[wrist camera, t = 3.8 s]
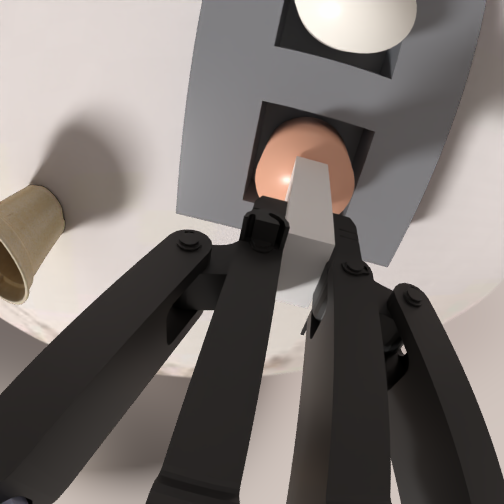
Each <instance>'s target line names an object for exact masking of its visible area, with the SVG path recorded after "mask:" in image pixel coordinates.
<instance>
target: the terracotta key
mask: <svg viewBox="0 0 504 504" xmlns="http://www.w3.org/2000/svg"><path fill="white" fill-rule="evenodd" d="M296 156H299V157H303V158H306V159H310V160H314V161H317V162H321V163H325V164H328V170H329V180H330V190H331V200H332V211H333V213H335V214H340V213H341V212H342V211H343V210H344V209H345V208H346V206H347V205H348V203H349V202H350V199H351V197H352V194H353V191H354V172H353V169H352V166H351V162H350V159H349V156H348V152H347V149H346V146H345V143H344V140H343V138H342V137H341V135H340V134H339V132H338V131H337V130H336V129H335V128H334V127H333V126H331V125H330V124H328V123H327V122H325V121H323V120H320V119H318V118H313V117H297V118H293V119H290V120H288V121H286V122H284V123H282V124H281V125H280V126H278V127H277V128H276V129H275V130H274V132H273V133H272V134H271V136H270V138H269V140H268V142H267V145H266V147H265V149H264V152H263V154H262V156H261V158H260V161H259V163H258V165H257V169H256V175H255V184H256V189H257V193H258V195H259V197H261V196H267V197H271V198H275V199H279V200H283V201H285V197H286V194H287V190H288V186H289V183H290V179H291V175H292V171H293V167H294V164H295V160H296Z"/></svg>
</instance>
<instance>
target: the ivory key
mask: <svg viewBox="0 0 504 504" xmlns="http://www.w3.org/2000/svg"><path fill="white" fill-rule="evenodd" d="M295 4H296V7H297V10H298V13H299V16H300V19H301V21H302V23H303V25H304V26H305V28H306V29H307V31H308V32H309V33H310V34H311V35H312V36H313V37H314V38H315V39H316V40H318V41H319V42H321V43H322V44H324V45H326V46H328V47H330V48H333V49H336V50H340V51H346V52H354V53H376V52H380V51H384V50H387V49H390V48H392V47H393V46H395V45H397V44H398V43H400V42H401V41H402V40H403V39H404V38H405V37H406V36H407V35H408V34H409V32H410V31H411V29H412V27H413V25H414V22H415V19H416V13H417V3H416V0H295Z"/></svg>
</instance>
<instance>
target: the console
mask: <svg viewBox="0 0 504 504" xmlns="http://www.w3.org/2000/svg"><path fill="white" fill-rule="evenodd" d="M416 3H417V13H416V19H415V22H414V25H413V27H412V29H411V31H410V32H409V34H408V35H407V36H406V37H405V38H404V39H403V40H402V41H401V42H400V43H398V44H397V45H395V46H393V47H392V48H390V49H387V50H384V51H380V52H376V53H354V52H346V51H340V50H336V49H333V48H330V47H328V46H326V45H324V44H322V43H321V42H319V41H318V40H316V39H315V38H314V37H313V36H312V35H311V34H310V33H309V32H308V31H307V29H306V28H305V26H304V25H303V23H302V21H301V19H300V16H299V13H298V10H297V7H296V4H295V0H202V5H201V10H200V16H199V21H198V27H197V33H196V39H195V45H194V51H193V57H192V64H191V71H190V78H189V85H188V93H187V100H186V108H185V117H184V126H183V135H182V145H181V155H180V166H179V178H178V191H177V205H176V214H181V215H185V216H189V217H193V218H197V219H201V220H205V221H210V222H214V223H218V224H222V225H226V226H230V227H234V228H238V229H241V228H242V223H243V218H244V215H245V214H246V213H247V212H249V211H252V209H253V206H254V203H255V200H257V199H258V198H260V197H259V195H258V193H257V189H256V184H255V175H256V169H257V165H258V163H259V161H260V158H261V156H262V154H263V152H264V149H265V147H266V145H267V142H268V140H269V138H270V136H271V134H272V133H273V132H274V130H275V129H276V128H277V127H278V126H280V125H281V124H282V123H284V122H286V121H288V120H290V119H293V118H297V117H313V118H318V119H320V120H323V121H325V122H327V123H328V124H330V125H331V126H333V127H334V128H335V129H336V130H337V131H338V132H339V134H340V135H341V137H342V138H343V140H344V143H345V146H346V149H347V152H348V156H349V159H350V162H351V166H352V169H353V172H354V191H353V194H352V197H351V199H350V202H349V203H348V205H347V206H346V208H345V209H344V210H343V211H342V212H341V213H340V214H339V215H342V216H346V217H349V218H351V220H352V221H353V222H354V224H355V225H356V228H357V235H358V239H359V241H358V242H359V245H360V251H361V257H362V261H366V262H370V263H373V264H377V265H381V266H385V267H388V266H389V264H390V262H391V260H392V258H393V256H394V254H395V252H396V251H397V249H398V247H399V245H400V243H401V241H402V239H403V237H404V235H405V233H406V231H407V229H408V227H409V225H410V223H411V220H412V218H413V216H414V214H415V212H416V210H417V208H418V206H419V203H420V201H421V199H422V197H423V195H424V192H425V190H426V188H427V186H428V183H429V181H430V179H431V176H432V174H433V172H434V169H435V167H436V164H437V162H438V160H439V157H440V155H441V152H442V150H443V147H444V144H445V142H446V139H447V137H448V134H449V131H450V129H451V126H452V123H453V120H454V117H455V115H456V112H457V109H458V106H459V103H460V100H461V97H462V94H463V91H464V87H465V84H466V81H467V78H468V74H469V71H470V67H471V64H472V60H473V57H474V53H475V49H476V45H477V41H478V37H479V33H480V29H481V24H482V20H483V15H484V10H485V5H486V0H416Z"/></svg>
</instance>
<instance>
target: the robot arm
mask: <svg viewBox="0 0 504 504" xmlns="http://www.w3.org/2000/svg"><path fill="white" fill-rule="evenodd" d="M358 241H359V239H358V235H357V228H356V225H355V224H354V222H353V221H352V220H351V218H349V217H346V216H342V215H339V214H335V213H333V211H332V200H331V190H330V180H329V170H328V164H325V163H321V162H317V161H314V160H310V159H306V158H303V157H299V156H296V160H295V164H294V167H293V171H292V175H291V179H290V183H289V186H288V190H287V194H286V197H285V201H283V200H279V199H275V198H271V197H267V196H261V197H260V198H258V199H257V200H255V203H254V206H253V209H252V211H249V212H247V213H246V214H245V215H244V218H243V223H242V228H241V233H240V238H239V241H237V242H235V243H233V244H229V245H212V242H211V240H210V239H209V237H208V236H207V235H205V234H203V233H202V232H199V231H195V230H179V231H176V232H174V233H172V234H170V235H169V236H168V237H167V238H165V239H164V240H163V241H162V242H161V243H159V244H158V245H157V246H156V247H155V248H154V249H152V250H151V251H150V252H149V253H148V254H147V255H145V256H144V257H143V258H142V259H141V260H140V261H138V262H137V263H136V264H135V265H134V266H133V267H132V268H130V269H129V270H128V271H127V272H126V273H125V274H124V275H123V276H121V277H120V278H119V279H118V280H117V281H116V282H115V283H114V284H112V285H111V286H110V287H109V288H108V289H107V290H106V291H105V292H104V293H103V294H101V295H100V296H99V297H98V298H97V299H96V300H95V301H94V302H93V303H92V304H91V305H90V306H88V307H87V308H86V309H85V310H84V311H83V312H82V313H81V314H80V315H79V316H78V317H77V318H76V319H75V320H74V321H73V322H71V323H70V324H69V325H68V326H67V327H66V328H65V329H64V330H63V331H62V332H61V333H60V334H59V335H58V336H57V337H56V338H55V339H54V340H53V341H52V342H51V343H50V344H49V345H48V346H47V347H46V348H45V349H44V350H43V351H42V352H41V353H40V354H39V355H38V356H37V357H36V358H35V359H34V360H33V361H32V362H31V363H30V364H29V365H28V366H27V367H26V368H25V369H24V370H23V371H22V372H21V373H20V374H19V375H18V376H17V377H16V379H15V380H14V381H13V382H12V383H11V384H10V385H9V386H8V387H7V388H6V389H5V390H4V391H3V392H2V393H1V395H0V504H52V503H54V502H55V501H56V500H57V499H58V498H59V497H60V495H62V493H63V492H64V491H65V490H66V489H67V488H68V487H69V485H70V484H71V483H72V481H73V480H74V479H75V478H76V476H77V475H78V474H79V472H80V471H81V470H82V469H83V467H84V466H85V465H86V463H87V462H88V461H89V459H90V458H91V457H92V456H93V454H94V453H95V452H96V450H97V449H98V448H99V446H100V445H101V444H102V443H103V441H104V440H105V439H106V437H107V436H108V435H109V434H110V432H111V431H112V429H113V428H114V427H115V426H116V424H117V423H118V422H119V421H120V419H121V418H122V417H123V415H124V414H125V413H126V412H127V410H128V409H129V408H130V406H131V405H132V404H133V403H134V401H135V400H136V399H137V397H138V396H139V395H140V393H141V392H142V391H143V389H144V388H145V387H146V386H147V384H148V383H149V382H150V381H151V379H152V378H153V377H154V375H155V374H156V373H157V371H158V370H159V369H160V368H161V366H162V365H163V364H164V362H165V361H166V360H167V359H168V357H169V356H170V355H171V353H172V352H173V351H174V350H175V348H176V347H177V346H178V344H179V343H180V342H181V340H182V339H183V338H184V337H185V335H186V334H187V333H188V331H189V330H190V329H191V328H192V326H193V325H194V324H195V322H196V321H197V320H198V319H199V317H200V316H201V315H202V313H203V310H214V313H213V316H212V319H211V322H210V325H209V328H208V331H207V334H206V337H205V339H204V342H203V345H202V348H201V351H200V354H199V357H198V360H197V363H196V366H195V369H194V372H193V375H192V378H191V381H190V384H189V387H188V390H187V393H186V396H185V399H184V402H183V405H182V408H181V411H180V414H179V417H178V420H177V423H176V426H175V429H174V432H173V435H172V438H171V441H170V444H169V448H168V450H167V454H166V457H165V460H164V463H163V466H162V469H161V471H160V473H159V475H158V477H157V478H156V480H155V481H154V483H153V486H152V488H151V490H150V493H149V495H148V498H147V501H146V504H240V501H239V491H240V485H241V480H242V476H243V470H244V466H245V461H246V456H247V451H248V446H249V441H250V436H251V431H252V426H253V421H254V415H255V411H256V405H257V400H258V394H259V389H260V384H261V378H262V373H263V367H264V362H265V356H266V351H267V345H268V339H269V333H270V328H271V322H272V316H273V310H274V304H275V301H278V302H282V303H286V304H290V305H294V306H299V307H303V308H307V309H308V308H309V305H310V303H311V301H312V299H313V302H312V310H311V312H310V314H309V316H308V318H307V321H306V323H305V325H304V327H303V329H302V332H301V335H304V333H305V331H306V342H305V354H304V365H303V376H302V386H301V396H300V405H299V414H298V423H297V431H296V439H295V447H294V455H293V462H292V469H291V476H290V482H289V489H288V496H287V502H286V504H392V503H391V498H390V484H391V483H390V480H391V461H392V465H393V469H394V473H395V477H396V482H397V486H398V491H399V495H400V500H401V504H504V479H503V475H502V472H501V469H500V465H499V462H498V459H497V455H496V452H495V449H494V447H493V443H492V441H491V437H490V435H489V432H488V429H487V426H486V424H485V421H484V418H483V416H482V413H481V411H480V408H479V405H478V403H477V400H476V398H475V395H474V393H473V390H472V388H471V386H470V383H469V381H468V379H467V376H466V374H465V372H464V370H463V367H462V365H461V363H460V361H459V359H458V356H457V355H456V352H455V350H454V348H453V346H452V344H451V342H450V340H449V338H448V336H447V334H446V332H445V330H444V328H443V326H442V324H441V322H440V320H439V318H438V316H437V314H436V312H435V310H434V308H433V306H432V305H431V303H430V301H429V299H428V298H427V296H426V295H425V293H424V292H422V291H421V290H420V289H419V288H418V287H415V286H414V285H411V284H407V283H401V284H398V285H397V286H396V287H395V288H394V290H393V291H392V290H390V289H388V288H386V287H384V286H382V285H380V284H379V283H377V282H375V281H374V279H373V273H372V271H371V269H370V267H369V266H368V265H367V264H366V263H365V262H364V261H362V257H361V251H360V245H359V242H358ZM403 344H404V346H405V349H406V351H407V353H406V354H405V355H404V354H403V353H402V351H401V347H402V346H403ZM390 460H391V461H390Z"/></svg>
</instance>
